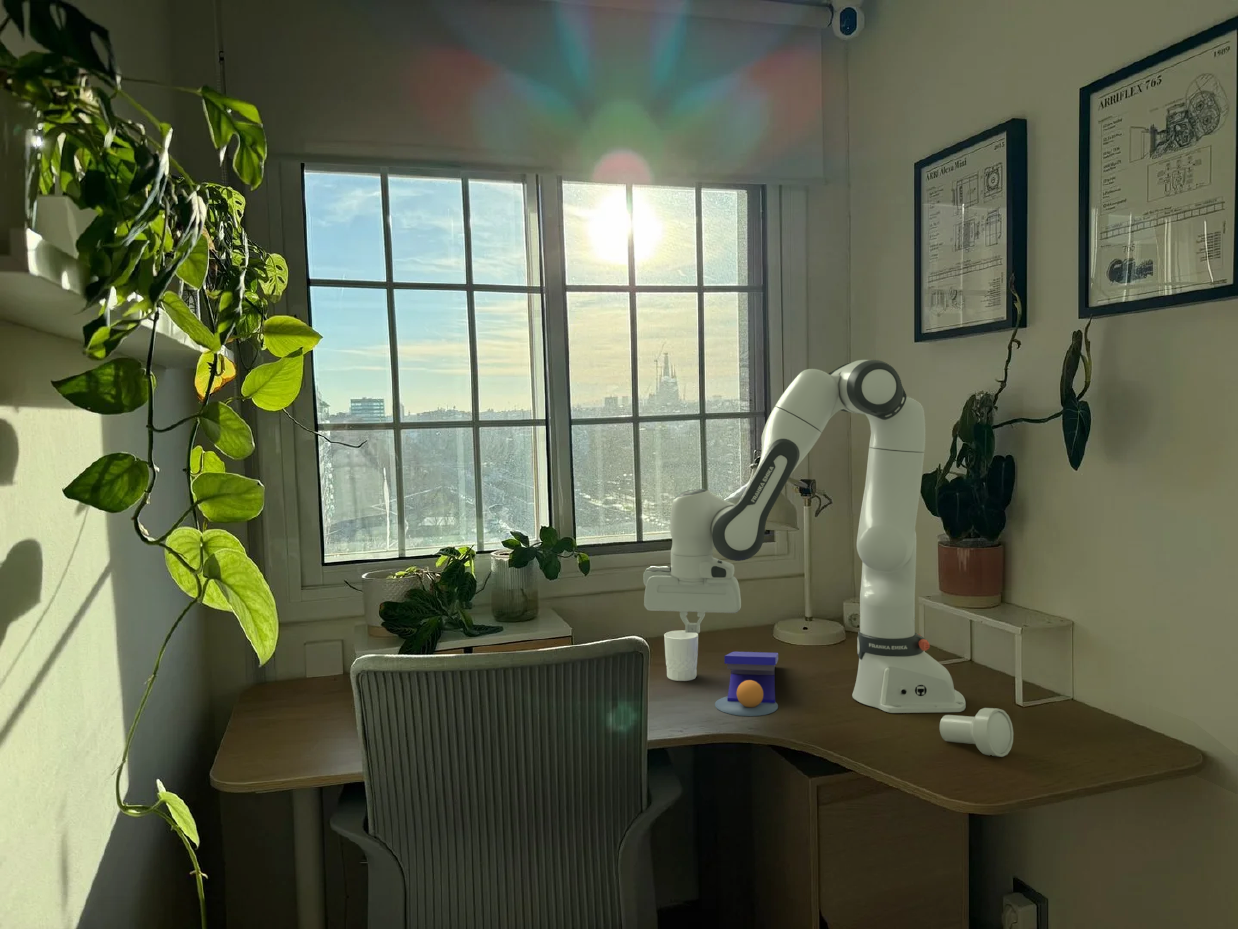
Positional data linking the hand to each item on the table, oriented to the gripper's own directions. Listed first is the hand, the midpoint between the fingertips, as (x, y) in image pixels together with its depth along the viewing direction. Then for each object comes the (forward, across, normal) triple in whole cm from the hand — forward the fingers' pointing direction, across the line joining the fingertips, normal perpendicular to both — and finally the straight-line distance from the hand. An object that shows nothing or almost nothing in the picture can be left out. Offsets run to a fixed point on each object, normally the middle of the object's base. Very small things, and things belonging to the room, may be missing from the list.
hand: (692, 632), depth 182 cm
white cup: (+15, -5, +18) cm, 24 cm away
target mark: (+15, +11, 0) cm, 19 cm away
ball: (+12, +12, -1) cm, 17 cm away
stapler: (+16, +12, +16) cm, 25 cm away
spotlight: (+15, +53, -17) cm, 58 cm away
